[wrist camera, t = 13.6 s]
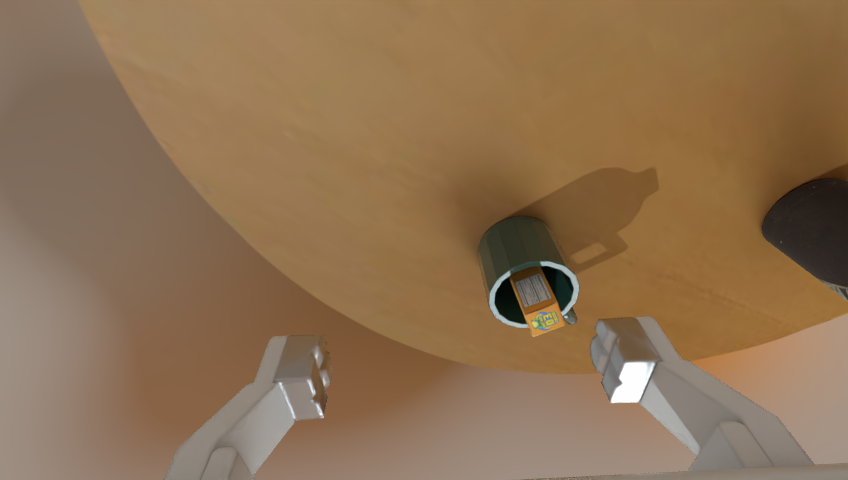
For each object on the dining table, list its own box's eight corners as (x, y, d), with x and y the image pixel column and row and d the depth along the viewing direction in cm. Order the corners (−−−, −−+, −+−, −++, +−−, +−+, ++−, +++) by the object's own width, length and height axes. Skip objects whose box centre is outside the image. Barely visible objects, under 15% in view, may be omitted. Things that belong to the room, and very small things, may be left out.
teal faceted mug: (461, 251, 44) (470, 299, 38) (521, 201, 41) (541, 245, 35) (528, 303, 49) (546, 353, 43) (587, 261, 46) (615, 309, 40)
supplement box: (537, 259, 44) (567, 328, 36) (507, 269, 45) (529, 340, 37) (529, 236, 42) (558, 303, 34) (497, 247, 43) (519, 316, 35)
